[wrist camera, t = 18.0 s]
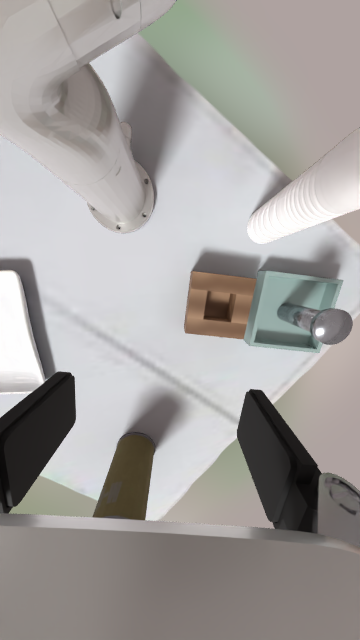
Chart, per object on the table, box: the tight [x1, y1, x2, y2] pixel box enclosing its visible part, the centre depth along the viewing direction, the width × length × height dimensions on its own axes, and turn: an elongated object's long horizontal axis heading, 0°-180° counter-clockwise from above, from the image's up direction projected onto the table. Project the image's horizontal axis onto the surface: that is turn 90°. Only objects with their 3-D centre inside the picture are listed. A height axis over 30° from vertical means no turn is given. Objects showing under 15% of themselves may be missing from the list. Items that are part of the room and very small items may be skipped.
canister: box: [92, 433, 155, 520], centre depth 38 cm, size 11×10×20 cm
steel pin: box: [277, 303, 352, 345], centre depth 33 cm, size 6×6×12 cm
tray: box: [244, 271, 343, 353], centre depth 38 cm, size 16×16×4 cm
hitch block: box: [184, 271, 257, 339], centre depth 36 cm, size 12×12×5 cm
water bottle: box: [247, 128, 360, 244], centre depth 23 cm, size 9×6×25 cm
